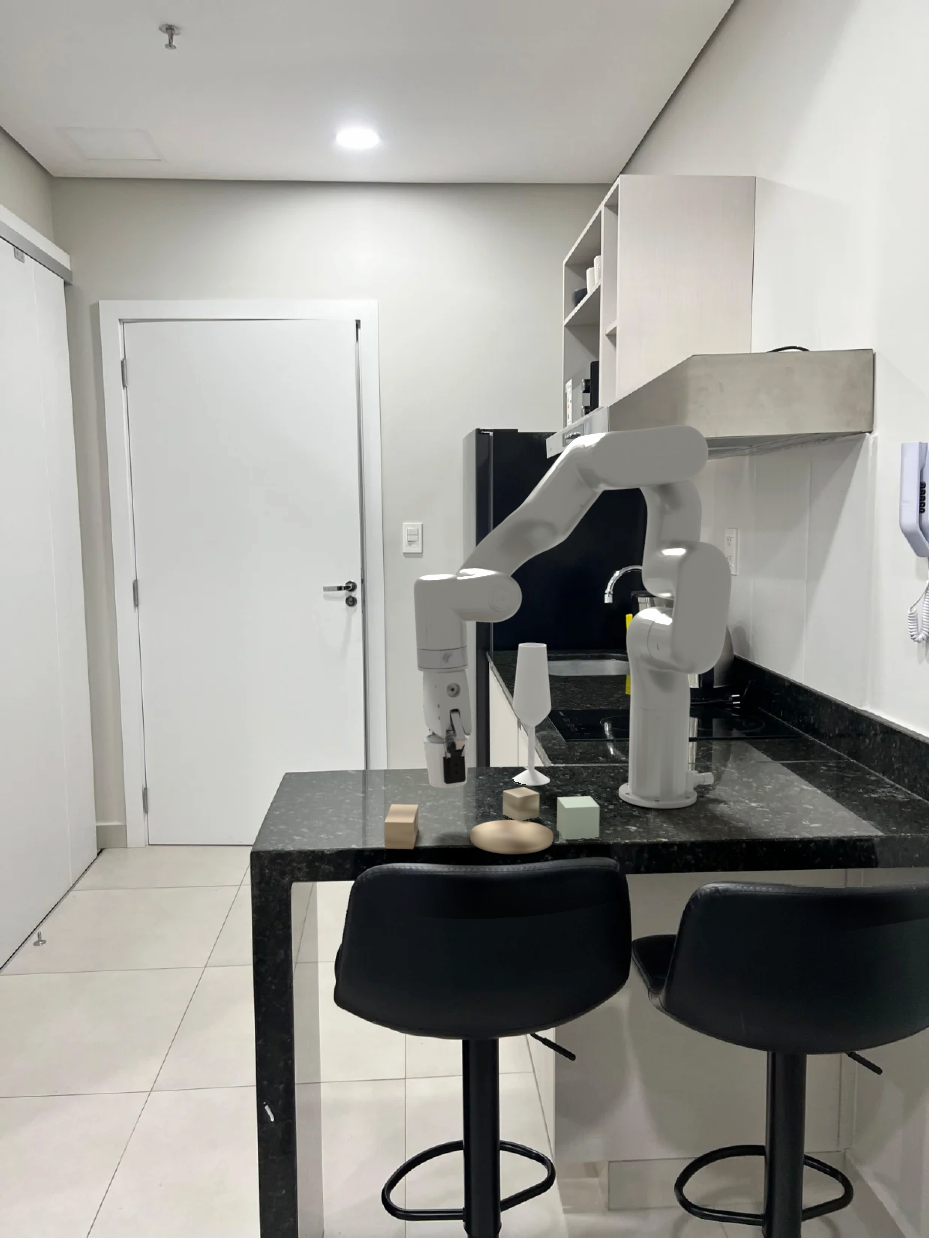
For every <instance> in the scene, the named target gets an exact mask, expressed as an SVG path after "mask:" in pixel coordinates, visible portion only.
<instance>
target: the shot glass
mask: <svg viewBox="0 0 929 1238" xmlns="http://www.w3.org/2000/svg"><path fill="white" fill-rule="evenodd" d="M446 734H447V736H449V735H454V733H453V732H446ZM465 737H466V740H465V743H464V744H465V747H464V749H465V774H466V780H465V781H464V782H459V783H452V784H446V783H445V782H444V771H443V757H445V752H444V744H443V739H442V738H441V737H439V736H438V735H437V734H431V735H430V734H428V735H426V736H424V737H423V746H424V755H425V761H426V769H427V775H428V781H429V785H430V786H431V787H434V788H439V789H452V788H453V789H454V788H459V787H463V786H464V785H466V784H467V782H468V767H469V766H468V763H469V747H470V746H469V745H470V735H469V736H467V735H465ZM451 742H454V740H449V748H450V745H451Z"/></svg>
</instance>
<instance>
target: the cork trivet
mask: <svg viewBox="0 0 929 1238" xmlns="http://www.w3.org/2000/svg"><path fill="white" fill-rule="evenodd" d="M470 840H471V841H470ZM469 841H470V843H471V842H472V843H473V844H472V843H471V844H472V845H473V846H474V847H476V848H478V849H481V850H483V851H485V852H486V851H487V852H491V853H496V854H501V855H502V854H504V855H522V854H523V855H524V854H532V853H536V852H541V851H542V850H546V849H548V848H549V847H551V846H552V844H553V843H552V842H554V832H553V831H552V830H551V829H550V828H548V827H547V826H545V825H542V824H540V823H537V822H532V821H529V820H528V821H520V820H511V819H505V820H504V819H500V820H493V821H486V822H483V823H480V824H478V825H475V826H474V827H472V828H471V829H470V831H469Z"/></svg>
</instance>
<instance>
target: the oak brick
mask: <svg viewBox="0 0 929 1238" xmlns="http://www.w3.org/2000/svg"><path fill="white" fill-rule="evenodd" d="M418 833H419V804H399V803H398V804H396V803H395V804H394V803H391V804H390V807H389V810H388V812H387V815H386V817H385V820H384V849H391V850H392V849H397V850H400V849H401V850H403V849H405V850H407V849H408V850H414V848H415V845H416V844H415V843H416V840H417V837H416V836H418Z"/></svg>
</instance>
